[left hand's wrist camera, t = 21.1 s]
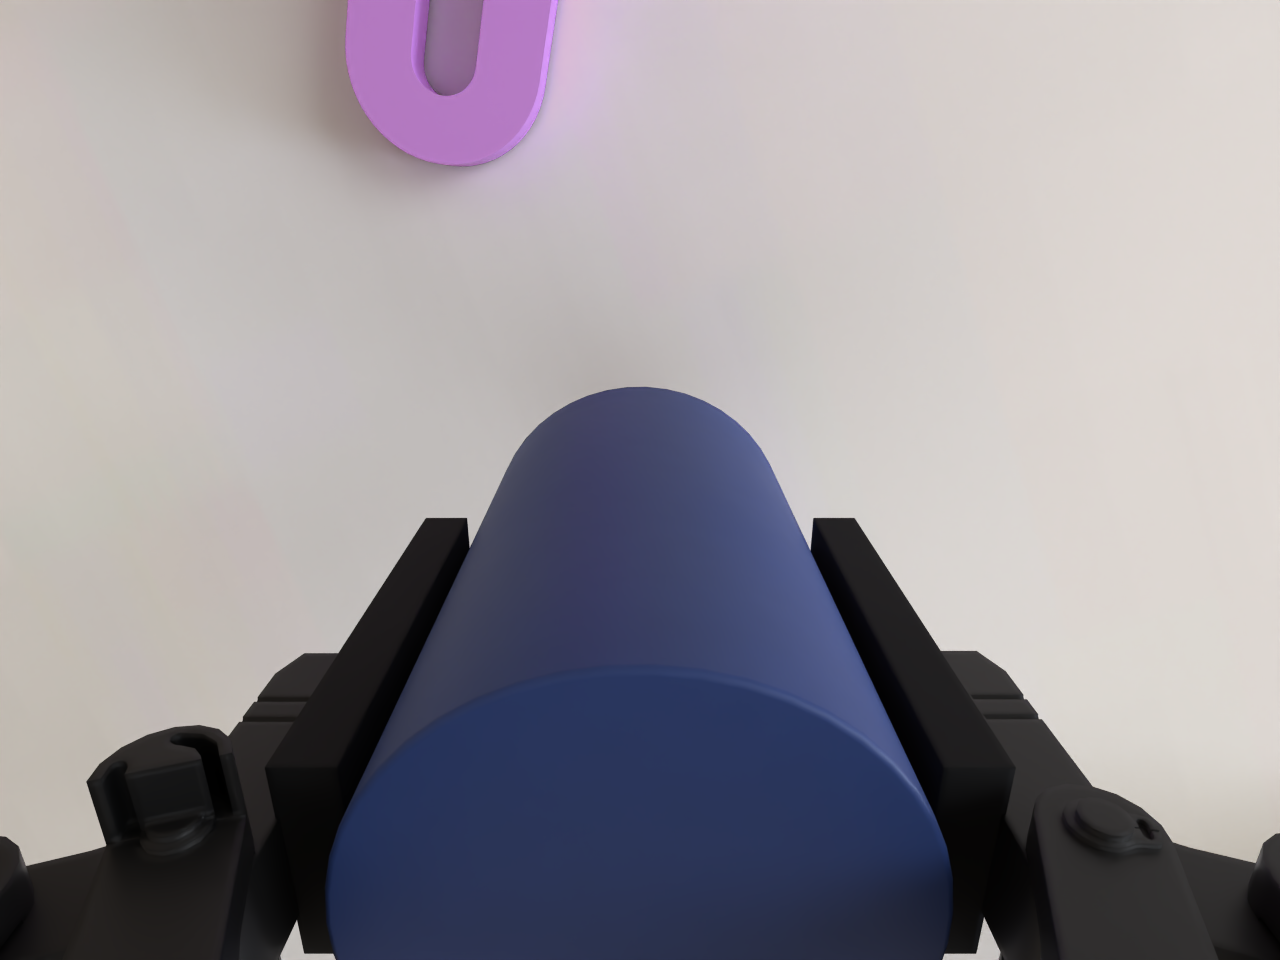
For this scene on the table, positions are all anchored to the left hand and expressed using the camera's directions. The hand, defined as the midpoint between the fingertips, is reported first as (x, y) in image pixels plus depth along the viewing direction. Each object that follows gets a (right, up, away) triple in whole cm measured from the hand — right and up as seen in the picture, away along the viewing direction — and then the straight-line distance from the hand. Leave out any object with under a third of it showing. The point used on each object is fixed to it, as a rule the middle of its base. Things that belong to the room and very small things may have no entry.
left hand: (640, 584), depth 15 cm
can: (0, +1, +3) cm, 3 cm away
